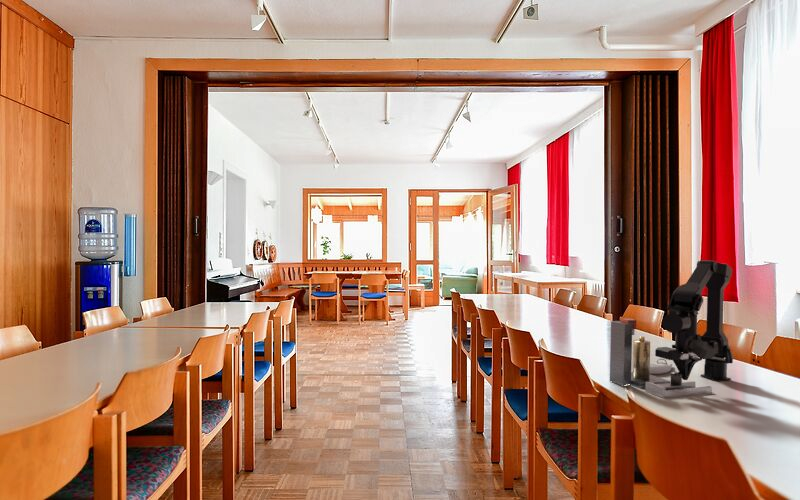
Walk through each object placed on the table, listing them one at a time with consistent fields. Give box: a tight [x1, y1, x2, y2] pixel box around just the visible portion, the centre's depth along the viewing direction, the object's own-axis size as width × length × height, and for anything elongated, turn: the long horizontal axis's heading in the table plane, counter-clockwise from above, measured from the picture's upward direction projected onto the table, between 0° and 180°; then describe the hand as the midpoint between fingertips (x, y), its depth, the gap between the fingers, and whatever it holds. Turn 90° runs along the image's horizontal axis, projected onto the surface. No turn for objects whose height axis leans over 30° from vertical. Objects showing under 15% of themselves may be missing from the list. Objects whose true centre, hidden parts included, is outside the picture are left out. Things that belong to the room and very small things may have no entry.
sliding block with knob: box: [657, 371, 684, 390], centre depth 145 cm, size 8×3×6 cm, turn 108°
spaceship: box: [650, 358, 673, 375], centre depth 171 cm, size 23×7×4 cm, turn 125°
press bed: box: [609, 317, 671, 389], centre depth 156 cm, size 16×12×21 cm
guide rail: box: [644, 380, 713, 399], centre depth 146 cm, size 20×6×3 cm, turn 108°
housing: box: [632, 335, 651, 379], centre depth 157 cm, size 5×5×14 cm
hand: (684, 379), depth 147 cm, fingers closed
